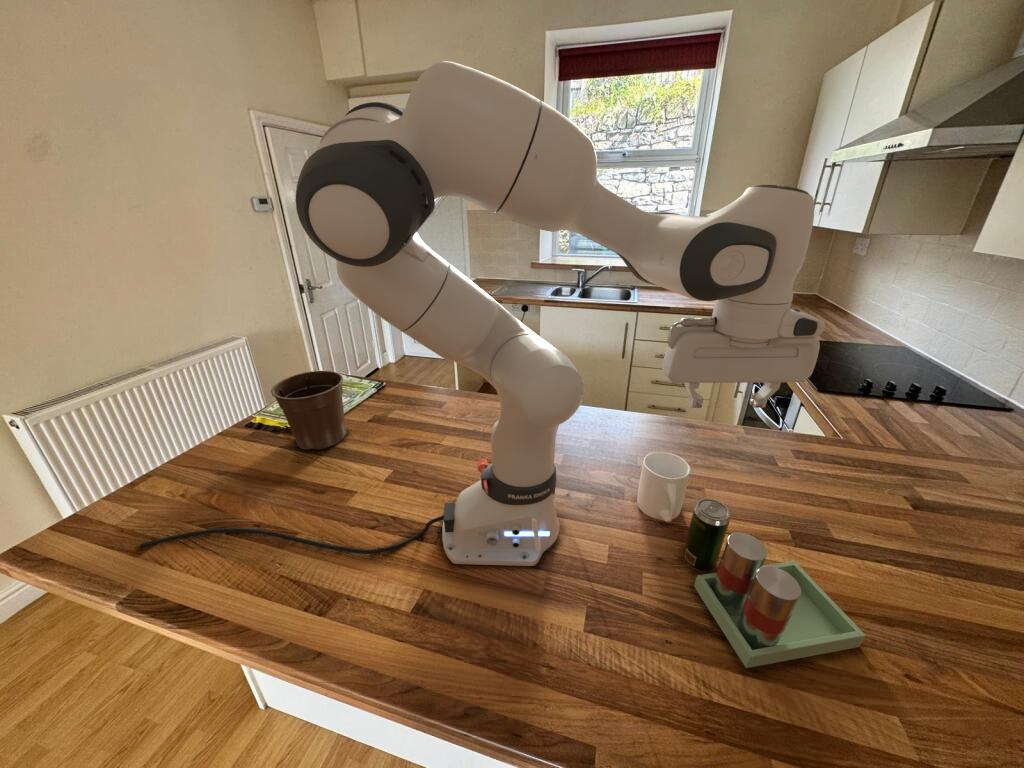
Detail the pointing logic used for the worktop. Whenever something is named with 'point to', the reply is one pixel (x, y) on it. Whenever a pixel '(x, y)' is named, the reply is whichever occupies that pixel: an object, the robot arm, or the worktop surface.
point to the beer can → (706, 534)
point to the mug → (662, 485)
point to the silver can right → (768, 607)
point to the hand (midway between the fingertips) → (725, 406)
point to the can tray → (789, 623)
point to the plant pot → (313, 408)
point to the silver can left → (738, 571)
